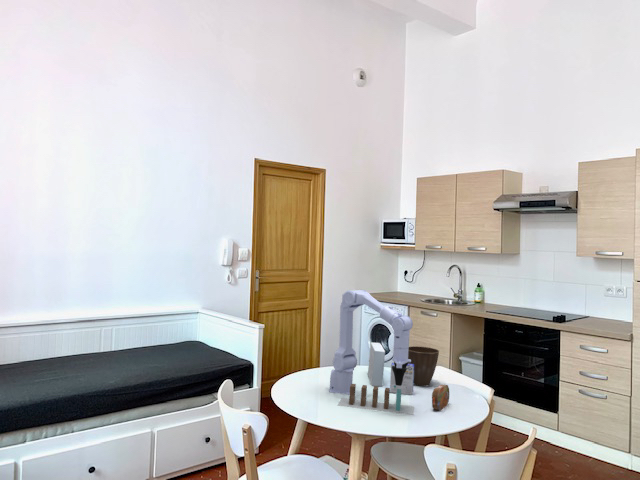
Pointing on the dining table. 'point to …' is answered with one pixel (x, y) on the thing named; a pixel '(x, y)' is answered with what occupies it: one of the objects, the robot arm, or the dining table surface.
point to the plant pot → (423, 364)
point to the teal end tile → (398, 399)
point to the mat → (379, 407)
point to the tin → (440, 397)
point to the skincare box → (376, 364)
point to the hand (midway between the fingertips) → (399, 382)
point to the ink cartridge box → (407, 381)
